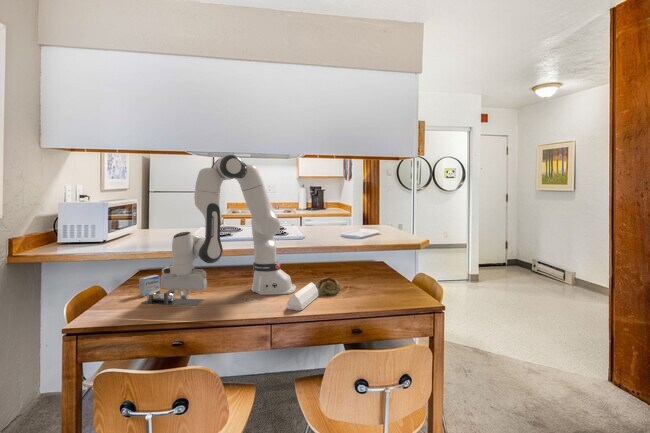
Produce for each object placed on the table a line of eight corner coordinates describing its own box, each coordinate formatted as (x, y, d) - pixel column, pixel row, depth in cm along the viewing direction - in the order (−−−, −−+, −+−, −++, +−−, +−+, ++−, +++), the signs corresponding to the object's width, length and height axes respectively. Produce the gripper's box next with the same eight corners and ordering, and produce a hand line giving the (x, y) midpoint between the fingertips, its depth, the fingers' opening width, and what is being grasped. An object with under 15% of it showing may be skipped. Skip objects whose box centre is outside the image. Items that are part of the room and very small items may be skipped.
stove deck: (204, 300, 164) (204, 289, 164) (196, 306, 156) (196, 295, 155) (152, 298, 166) (152, 287, 166) (141, 304, 158) (141, 293, 157)
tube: (174, 300, 163) (174, 293, 163) (170, 302, 160) (170, 294, 160) (151, 299, 164) (151, 292, 164) (147, 301, 160) (147, 294, 160)
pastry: (321, 297, 171) (321, 281, 170) (310, 290, 182) (310, 274, 181) (346, 293, 177) (347, 277, 177) (334, 286, 188) (334, 271, 188)
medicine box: (145, 297, 168) (144, 279, 167) (139, 295, 170) (138, 277, 169) (160, 293, 174) (159, 275, 174) (154, 291, 177) (154, 274, 176)
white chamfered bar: (304, 304, 150) (323, 288, 172) (290, 294, 151) (311, 280, 174) (296, 318, 151) (316, 300, 174) (282, 308, 153) (304, 292, 176)
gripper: (208, 267, 162) (209, 297, 163) (165, 266, 163) (166, 295, 165) (203, 270, 156) (204, 301, 157) (158, 269, 157) (159, 300, 159)
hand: (184, 298), depth 161 cm, fingers closed
